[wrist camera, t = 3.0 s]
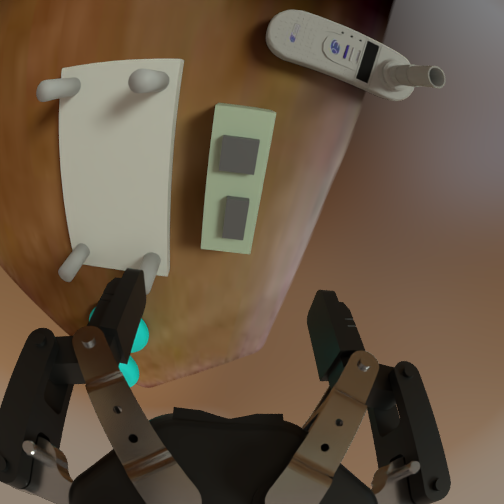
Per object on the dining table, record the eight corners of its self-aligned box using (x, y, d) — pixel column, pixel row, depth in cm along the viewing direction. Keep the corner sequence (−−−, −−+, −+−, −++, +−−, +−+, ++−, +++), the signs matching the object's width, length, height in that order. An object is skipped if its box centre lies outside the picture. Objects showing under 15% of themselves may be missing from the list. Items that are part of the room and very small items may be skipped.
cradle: (69, 68, 19) (32, 70, 14) (184, 60, 20) (166, 52, 15) (80, 256, 32) (58, 287, 27) (169, 268, 33) (158, 305, 28)
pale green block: (219, 102, 23) (214, 105, 19) (271, 109, 24) (277, 114, 20) (205, 229, 31) (199, 253, 27) (249, 234, 32) (250, 258, 28)
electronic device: (285, -27, 10) (467, 68, 12) (273, 9, 18) (408, 66, 20) (263, 35, 13) (451, 122, 15) (259, 54, 21) (395, 107, 23)
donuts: (141, 370, 30) (133, 398, 34) (156, 313, 38) (145, 348, 43) (67, 342, 27) (73, 376, 32) (94, 289, 35) (92, 329, 40)
